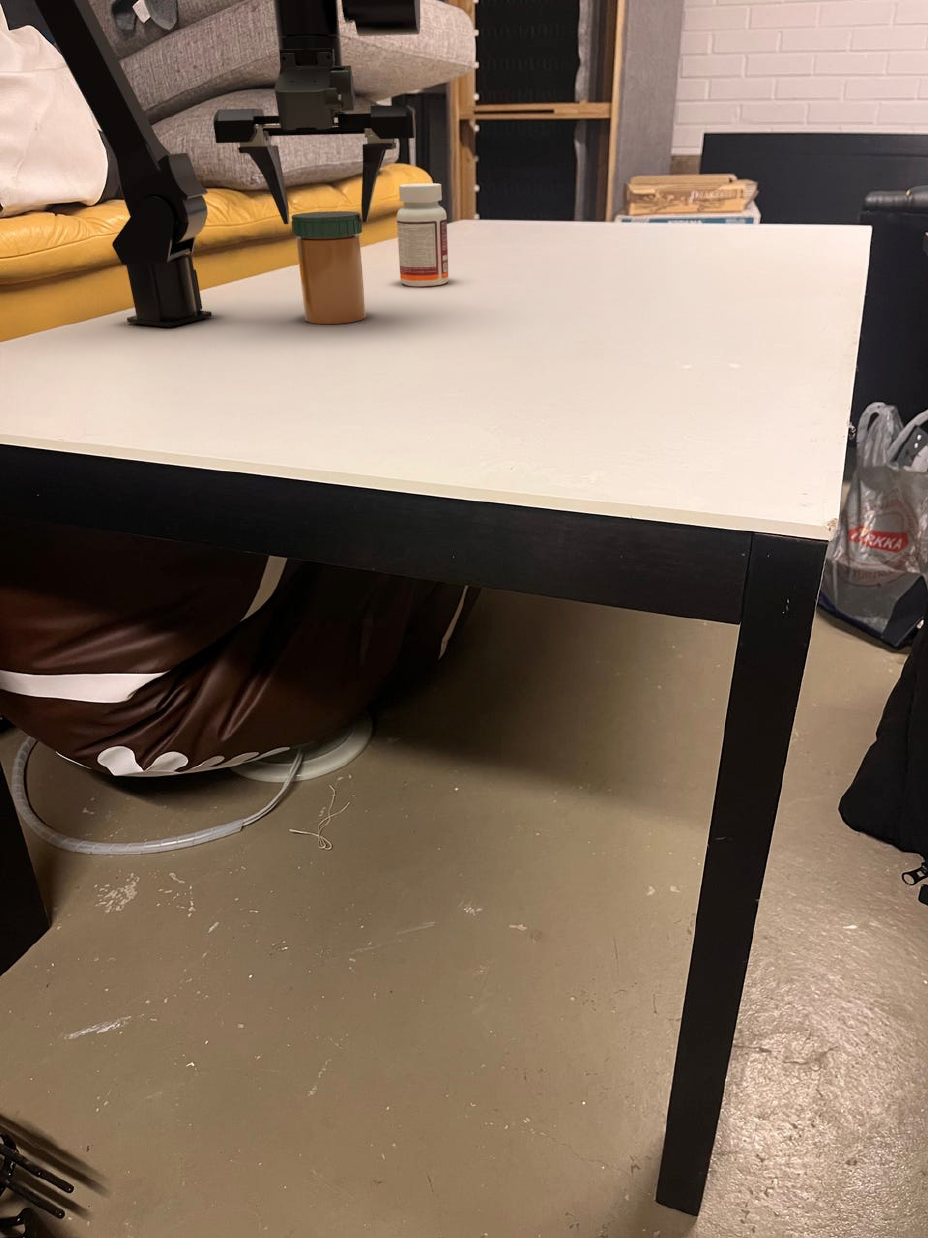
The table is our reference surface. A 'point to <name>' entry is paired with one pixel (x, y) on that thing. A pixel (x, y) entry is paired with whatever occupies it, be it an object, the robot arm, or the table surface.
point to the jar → (331, 279)
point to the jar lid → (326, 224)
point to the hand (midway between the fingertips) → (325, 222)
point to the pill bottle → (422, 235)
